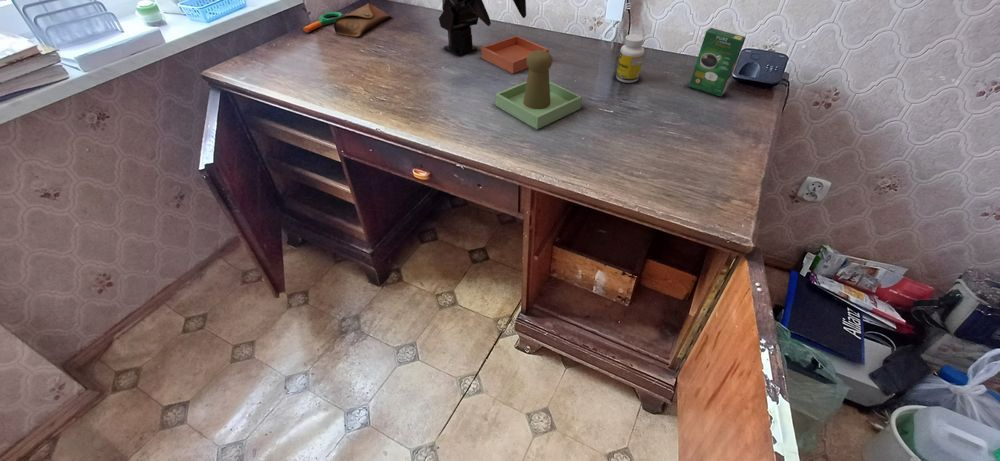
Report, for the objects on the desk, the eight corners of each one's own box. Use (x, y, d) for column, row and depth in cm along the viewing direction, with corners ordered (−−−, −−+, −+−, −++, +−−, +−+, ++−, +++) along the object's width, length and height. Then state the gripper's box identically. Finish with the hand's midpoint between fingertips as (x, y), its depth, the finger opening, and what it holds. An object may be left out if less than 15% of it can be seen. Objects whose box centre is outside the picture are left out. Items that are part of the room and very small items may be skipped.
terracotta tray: (481, 58, 121) (481, 47, 119) (516, 45, 127) (516, 35, 125) (512, 73, 114) (513, 62, 112) (548, 60, 120) (549, 49, 118)
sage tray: (495, 105, 103) (495, 93, 101) (538, 87, 109) (539, 76, 107) (537, 129, 95) (537, 117, 94) (580, 108, 102) (582, 96, 100)
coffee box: (726, 93, 107) (747, 35, 98) (722, 98, 105) (742, 39, 96) (692, 83, 110) (709, 26, 101) (687, 87, 109) (704, 30, 100)
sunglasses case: (360, 36, 130) (345, 13, 127) (344, 46, 134) (329, 24, 131) (393, 15, 143) (380, -7, 140) (378, 24, 147) (365, 4, 144)
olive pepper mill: (522, 96, 104) (523, 47, 97) (548, 95, 104) (552, 46, 97) (524, 109, 100) (526, 59, 92) (552, 108, 100) (556, 58, 92)
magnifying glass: (330, 14, 144) (329, 9, 143) (347, 17, 143) (345, 11, 142) (298, 32, 134) (296, 25, 133) (315, 34, 133) (314, 28, 131)
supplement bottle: (611, 75, 114) (618, 34, 107) (631, 72, 115) (639, 31, 108) (622, 85, 110) (630, 43, 103) (642, 81, 111) (651, 40, 104)
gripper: (453, -67, 91) (483, 8, 92) (531, -78, 98) (559, -8, 99) (439, -32, 101) (466, 36, 102) (511, -44, 108) (536, 20, 109)
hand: (507, 20), depth 103 cm, fingers open, 9 cm apart
